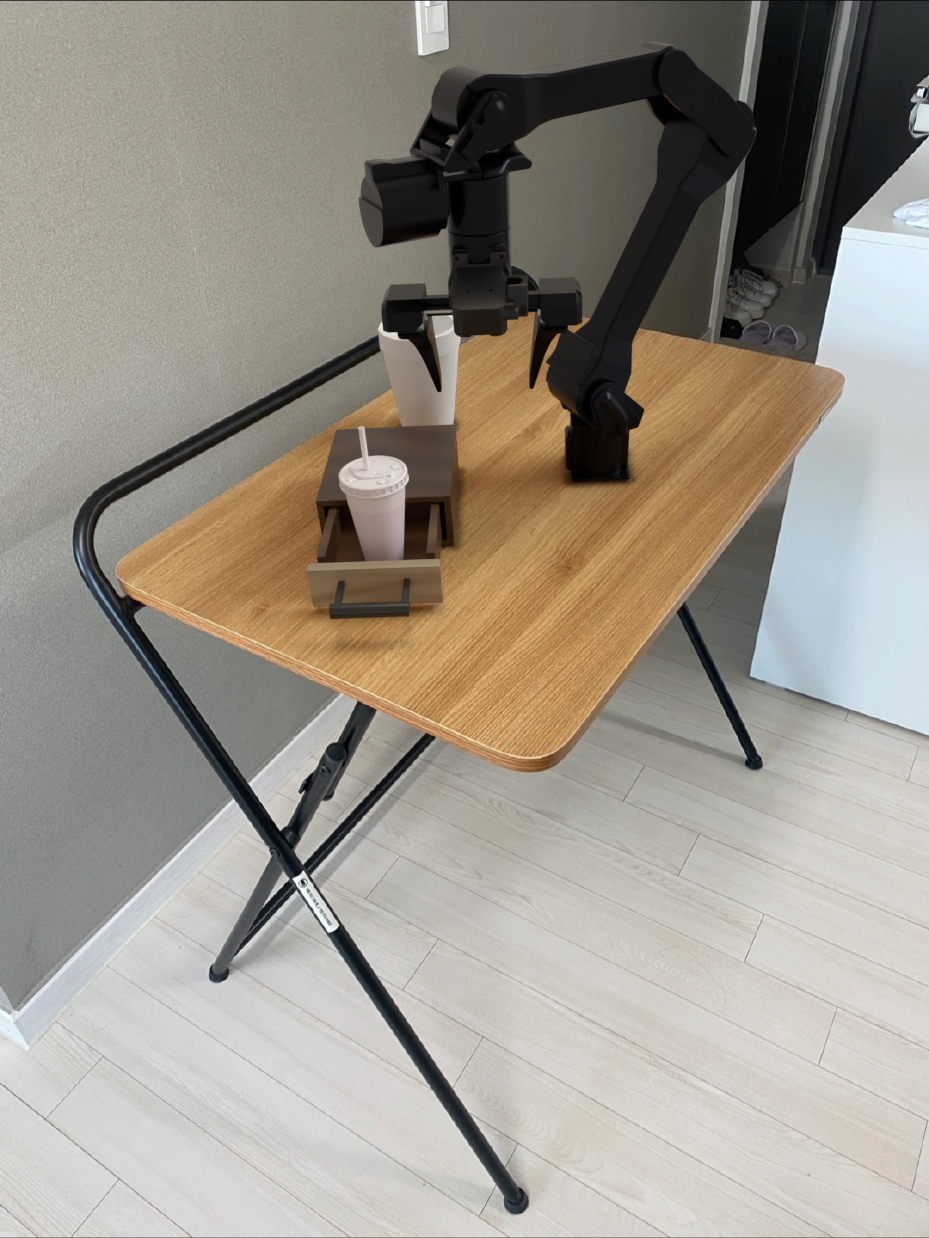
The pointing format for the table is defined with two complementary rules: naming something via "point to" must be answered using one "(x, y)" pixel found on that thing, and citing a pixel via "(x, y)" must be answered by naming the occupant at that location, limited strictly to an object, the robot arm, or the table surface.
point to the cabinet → (418, 449)
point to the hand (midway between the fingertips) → (485, 389)
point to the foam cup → (422, 376)
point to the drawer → (378, 567)
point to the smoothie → (376, 502)
